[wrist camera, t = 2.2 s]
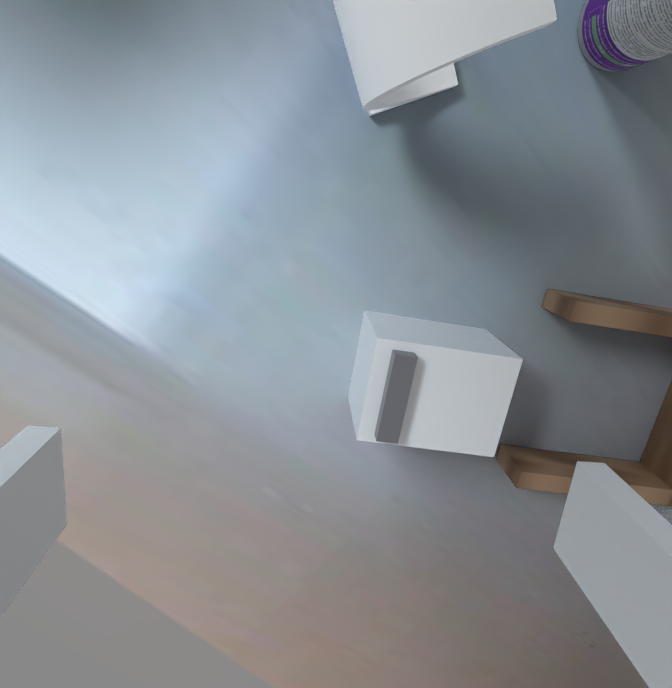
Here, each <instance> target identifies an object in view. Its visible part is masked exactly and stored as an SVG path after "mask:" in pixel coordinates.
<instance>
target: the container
mask: <svg viewBox="0 0 672 688" xmlns="http://www.w3.org/2000/svg"><path fill="white" fill-rule="evenodd" d="M578 41H579V45H580V48H581V51H582V53H583V55H584V56H585V58H586V59H587V60H588V61H589V62H590V63H591V64H592V65H593V66H594V67H596V68H598V69H600V70H603V71H608V72H618V71H622V70H626V69H629V68H632V67H635V66H638V65H641V64H643V63H646V62H649V61H652V60H655V59H658V58H660V57H663V56H666V55H669V54H672V0H586V2H585V4H584V5H583V8H582V10H581V13H580V17H579V21H578Z"/></svg>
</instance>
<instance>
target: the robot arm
mask: <svg viewBox="0 0 672 688" xmlns="http://www.w3.org/2000/svg"><path fill="white" fill-rule="evenodd" d="M66 525H67V517H66V501H65V486H64V470H63V454H62V438H61V428H55V427H40V426H27V427H26V428H25V429H23V430H22V431H21V432H20V433H19V434H17V435H16V436H15V437H14V438H13V439H12V440H10V441H9V442H8V443H7V444H6V445H5V446H3V447H2V448H1V449H0V618H1V616H2V615H3V614H4V612H5V611H6V609H7V608H8V606H9V605H10V604H11V602H12V601H13V599H14V598H15V597H16V595H17V594H18V592H19V591H20V590H21V588H22V587H23V585H24V584H25V583H26V581H27V580H28V578H29V577H30V576H31V574H32V573H33V571H34V570H35V568H36V567H37V566H38V564H39V563H40V561H41V560H42V558H43V557H44V556H45V554H46V553H47V552H48V550H49V549H50V547H51V546H52V544H53V543H54V542H55V540H56V539H57V538H58V536H59V535H60V533H61V532H62V531H63V529H64V528H65V526H66ZM553 548H554V550H555V551H556V553H557V554H558V556H559V557H560V559H561V560H562V562H563V563H564V565H565V566H566V567H567V569H568V570H569V572H570V573H571V575H572V576H573V578H574V579H575V581H576V582H577V583H578V585H579V586H580V588H581V589H582V591H583V592H584V594H585V595H586V597H587V598H588V599H589V601H590V602H591V604H592V605H593V607H594V608H595V610H596V611H597V613H598V614H599V616H600V617H601V618H602V620H603V621H604V623H605V624H606V626H607V627H608V629H609V630H610V632H611V633H612V634H613V636H614V637H615V639H616V640H617V642H618V643H619V645H620V646H621V648H622V649H623V650H624V652H625V653H626V655H627V656H628V658H629V659H630V661H631V662H632V664H633V665H634V667H635V668H636V669H637V671H638V672H639V674H640V675H641V677H642V678H643V680H644V681H645V683H646V684H647V685H648V687H649V688H672V525H671V524H670V523H669V522H668V521H667V520H666V519H665V518H664V517H663V516H662V515H660V514H659V513H658V512H657V511H656V510H655V509H654V508H653V507H652V506H651V505H650V504H649V503H647V502H646V501H645V500H644V499H643V498H642V497H641V496H640V495H639V494H638V493H637V492H635V491H634V490H633V489H632V488H631V487H630V486H629V485H628V484H627V483H626V482H625V481H624V480H622V479H621V478H620V477H619V476H618V475H617V474H616V473H615V472H614V471H613V470H612V469H611V468H609V467H608V466H607V465H606V464H605V463H597V462H581V461H577V464H576V467H575V471H574V474H573V478H572V482H571V485H570V489H569V493H568V496H567V500H566V503H565V507H564V511H563V514H562V518H561V522H560V525H559V529H558V532H557V536H556V540H555V543H554V547H553Z"/></svg>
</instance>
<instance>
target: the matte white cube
mask: <svg viewBox="0 0 672 688" xmlns="http://www.w3.org/2000/svg"><path fill="white" fill-rule="evenodd" d="M522 361H523V359H522V358H521V357H520V356H518V355H517V354H516V353H515V352H513V351H512V350H511V349H510V348H508V347H507V346H506V345H505V344H503V343H502V342H501V341H500V340H498V339H497V338H496V337H495V336H494V335H492V334H491V333H490V332H489V331H487V330H486V329H483V328H476V327H469V326H463V325H456V324H450V323H443V322H437V321H430V320H424V319H417V318H410V317H404V316H397V315H391V314H384V313H378V312H371V311H364V316H363V322H362V327H361V332H360V337H359V343H358V348H357V353H356V358H355V363H354V369H353V374H352V379H351V384H350V389H349V395H348V399H349V404H350V409H351V414H352V419H353V424H354V429H355V434H356V439H357V440H359V441H367V442H375V443H383V444H391V445H399V446H407V447H415V448H423V449H431V450H439V451H448V452H456V453H464V454H472V455H480V456H488V457H494V456H495V452H496V449H497V445H498V442H499V439H500V435H501V432H502V429H503V425H504V422H505V418H506V415H507V412H508V408H509V405H510V402H511V398H512V395H513V391H514V388H515V385H516V381H517V378H518V375H519V371H520V368H521V364H522Z"/></svg>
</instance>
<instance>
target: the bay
mask: <svg viewBox="0 0 672 688" xmlns="http://www.w3.org/2000/svg"><path fill="white" fill-rule="evenodd" d="M542 307H543V308H545V309H547V310H549V311H551V312H553V313H554V314H556V315H558V316H560V317H562V318H564V319H566V320H568V321H571V322H578V323H584V324H590V325H597V326H603V327H610V328H616V329H622V330H629V331H635V332H641V333H648V334H654V335H660V336H667V337H672V309H668V308H662V307H656V306H650V305H643V304H637V303H631V302H625V301H619V300H613V299H607V298H601V297H595V296H589V295H582V294H576V293H570V292H564V291H558V290H552V289H547V291H546V295H545V298H544V301H543V305H542ZM496 460H497V461H498V463H499V464H500V465H501V467H502V468H503V470H504V471H505V473H506V474H507V475H508V477H509V478H510V480H511V481H512V483H513V484H514V486H515V487H516V488H521V489H529V490H538V491H547V492H555V493H564V494H568V493H569V489H570V485H571V482H572V478H573V474H574V471H575V467H576V464H577V461H581V462H597V463H605V464H606V465H607V466H608V467H609V468H611V469H612V470H613V471H614V472H615V473H616V474H617V475H618V476H619V477H620V478H621V479H622V480H624V481H625V482H626V483H627V484H628V485H629V486H630V487H631V488H632V489H633V490H634V491H635V492H637V493H638V494H639V495H640V496H641V497H642V498H643V499H644V500H645V501H646V502H647V503H649V504H657V505H666V506H672V382H671V384H670V387H669V389H668V392H667V394H666V397H665V399H664V402H663V404H662V407H661V409H660V412H659V414H658V417H657V419H656V422H655V425H654V427H653V430H652V432H651V435H650V437H649V440H648V442H647V445H646V447H645V450H644V452H643V455H642V457H641V460H640V462H636V461H628V460H620V459H612V458H604V457H596V456H589V455H581V454H573V453H565V452H557V451H549V450H541V449H533V448H526V447H518V446H510V445H502V444H501V445H500V449H499V452H498V455H497V459H496Z"/></svg>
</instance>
